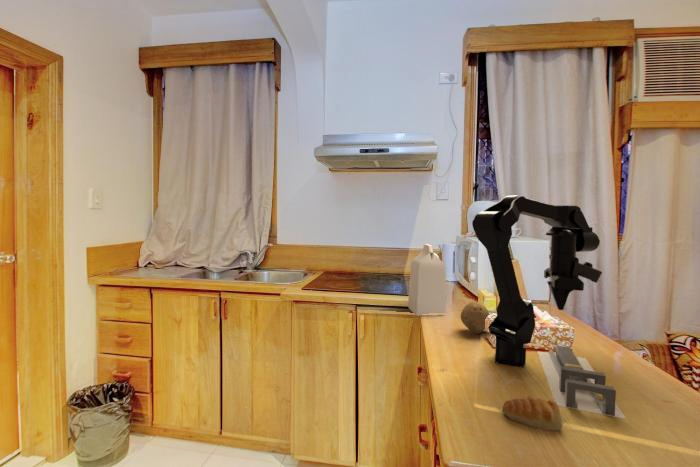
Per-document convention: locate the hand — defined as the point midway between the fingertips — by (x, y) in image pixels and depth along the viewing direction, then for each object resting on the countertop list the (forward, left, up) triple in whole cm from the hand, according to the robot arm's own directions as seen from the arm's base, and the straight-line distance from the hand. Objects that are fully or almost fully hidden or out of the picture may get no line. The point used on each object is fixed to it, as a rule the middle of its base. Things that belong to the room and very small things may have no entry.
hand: (560, 309), depth 91 cm
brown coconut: (-22, +8, -12) cm, 26 cm away
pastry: (-10, -37, -12) cm, 40 cm away
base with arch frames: (0, -17, -12) cm, 21 cm away
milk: (-40, +26, -12) cm, 50 cm away
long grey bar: (0, -14, -11) cm, 18 cm away
